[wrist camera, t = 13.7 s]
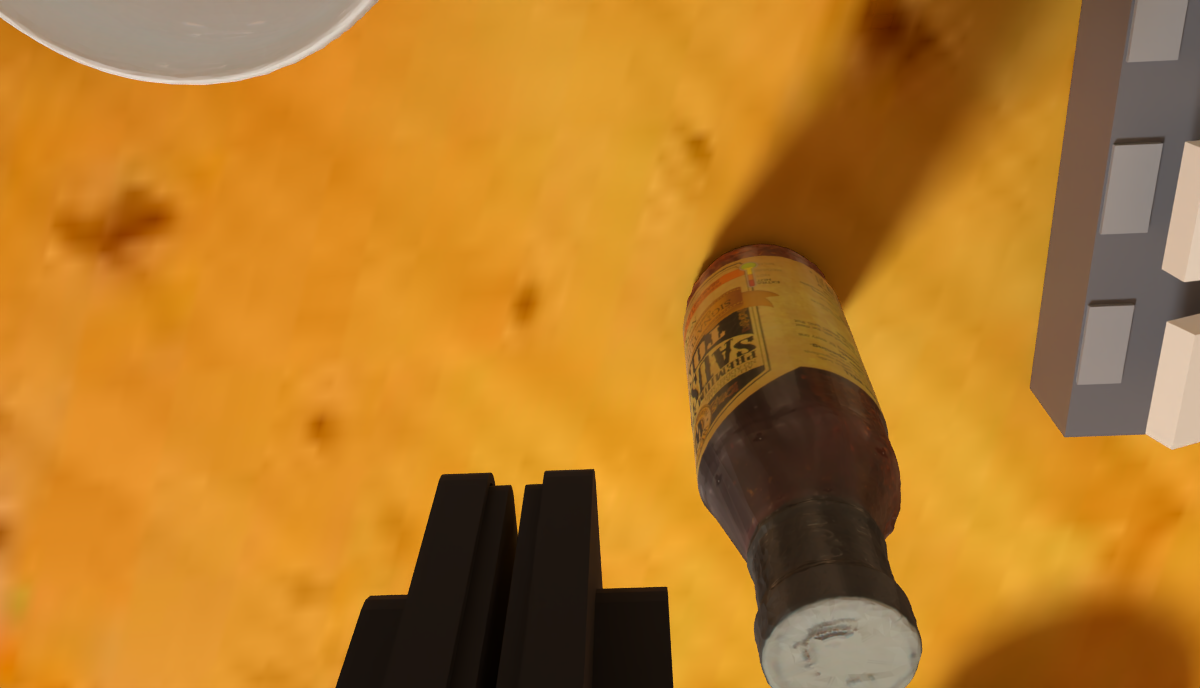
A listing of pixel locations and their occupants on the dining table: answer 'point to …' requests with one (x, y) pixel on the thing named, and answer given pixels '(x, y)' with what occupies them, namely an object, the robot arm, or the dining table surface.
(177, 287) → the dining table surface
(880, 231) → the dining table surface
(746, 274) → the sauce bottle
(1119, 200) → the rocker switch box
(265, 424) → the dining table surface
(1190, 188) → the middle rocker
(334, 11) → the cereal bowl
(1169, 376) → the block
